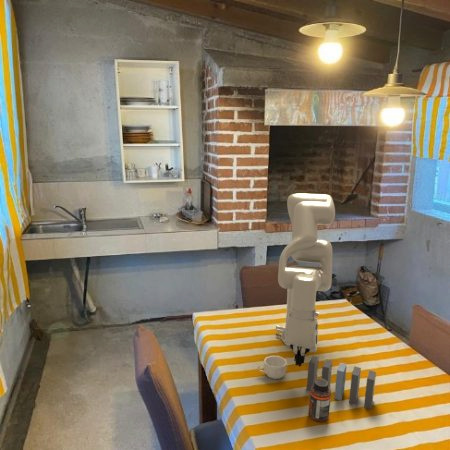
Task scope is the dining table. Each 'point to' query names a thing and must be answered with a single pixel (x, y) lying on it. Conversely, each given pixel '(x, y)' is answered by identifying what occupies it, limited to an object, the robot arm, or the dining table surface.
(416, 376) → the dining table surface
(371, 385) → the domino
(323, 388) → the supplement bottle
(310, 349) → the robot arm
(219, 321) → the dining table surface
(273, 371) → the teacup
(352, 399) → the domino
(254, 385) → the dining table surface
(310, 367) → the domino
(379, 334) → the dining table surface
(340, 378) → the domino
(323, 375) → the domino
